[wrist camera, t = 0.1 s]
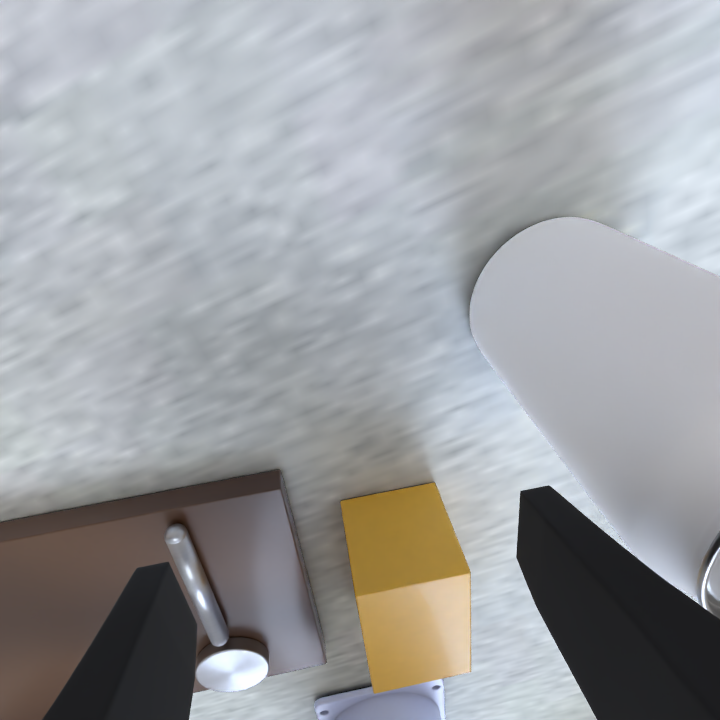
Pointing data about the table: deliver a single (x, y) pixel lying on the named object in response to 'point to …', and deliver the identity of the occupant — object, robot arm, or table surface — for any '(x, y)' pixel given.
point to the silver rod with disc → (215, 626)
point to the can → (617, 382)
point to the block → (409, 586)
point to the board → (143, 548)
